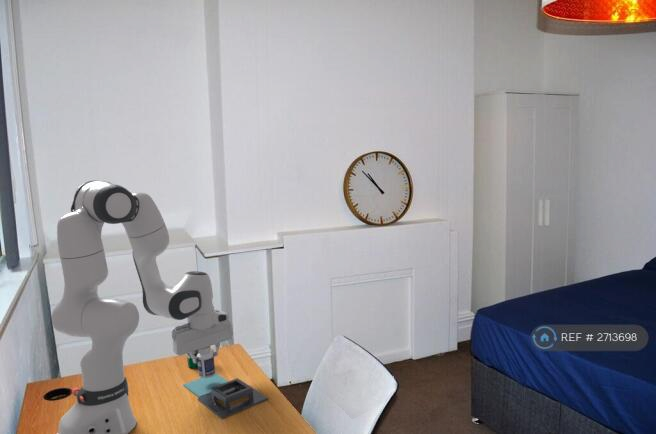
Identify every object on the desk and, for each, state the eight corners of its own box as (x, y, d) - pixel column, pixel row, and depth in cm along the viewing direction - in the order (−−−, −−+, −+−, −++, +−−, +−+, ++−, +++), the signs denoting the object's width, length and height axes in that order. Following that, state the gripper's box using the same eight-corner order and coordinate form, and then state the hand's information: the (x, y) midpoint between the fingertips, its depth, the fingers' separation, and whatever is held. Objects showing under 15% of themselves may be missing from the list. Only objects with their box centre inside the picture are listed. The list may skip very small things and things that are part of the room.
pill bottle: (217, 371, 182) (214, 343, 180) (212, 378, 176) (209, 350, 175) (202, 371, 182) (199, 344, 180) (196, 378, 177) (193, 350, 175)
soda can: (205, 363, 197) (201, 332, 195) (196, 369, 193) (193, 337, 191) (194, 362, 199) (190, 331, 197) (185, 367, 195) (181, 336, 193)
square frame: (222, 418, 157) (220, 406, 157) (197, 400, 170) (196, 388, 169) (268, 399, 167) (267, 387, 167) (242, 383, 180) (241, 371, 179)
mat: (199, 397, 171) (199, 396, 171) (183, 385, 180) (183, 384, 180) (232, 385, 179) (232, 383, 178) (215, 374, 188) (215, 372, 188)
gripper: (175, 330, 167) (180, 372, 169) (233, 313, 180) (237, 352, 182) (167, 325, 172) (171, 366, 174) (224, 309, 185) (228, 347, 187)
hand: (205, 359), depth 178 cm, fingers closed on pill bottle, 5 cm apart
